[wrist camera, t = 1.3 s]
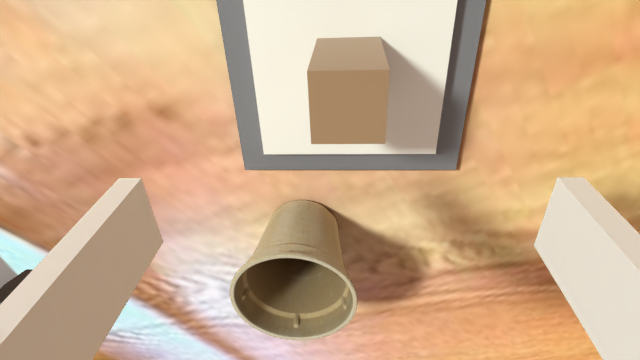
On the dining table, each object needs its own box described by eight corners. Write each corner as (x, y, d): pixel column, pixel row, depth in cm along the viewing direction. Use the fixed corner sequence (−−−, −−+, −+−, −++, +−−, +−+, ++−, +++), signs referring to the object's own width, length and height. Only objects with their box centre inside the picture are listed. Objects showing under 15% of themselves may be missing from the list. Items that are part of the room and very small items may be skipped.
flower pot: (368, 250, 36) (373, 329, 29) (279, 271, 39) (263, 349, 31) (335, 171, 32) (331, 241, 24) (236, 200, 34) (205, 272, 27)
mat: (499, -93, 22) (503, -94, 21) (453, 166, 31) (455, 169, 30) (206, -79, 23) (202, -79, 22) (246, 166, 32) (245, 169, 31)
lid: (460, -50, 22) (507, -43, 16) (433, 147, 29) (457, 211, 23) (241, -41, 23) (197, -31, 17) (266, 148, 30) (242, 209, 24)
